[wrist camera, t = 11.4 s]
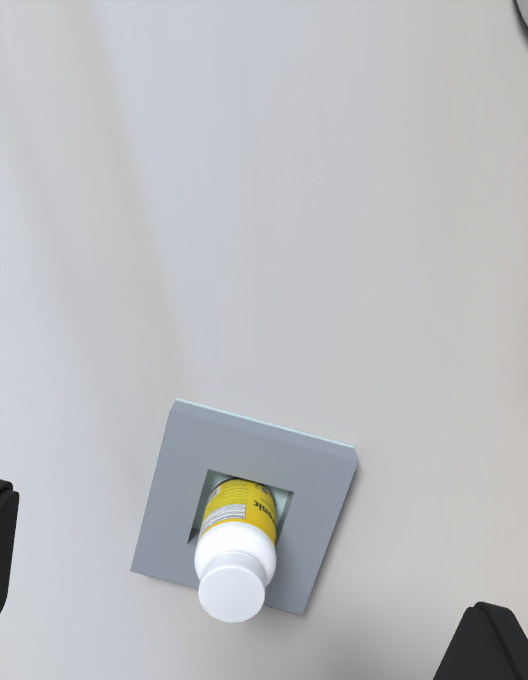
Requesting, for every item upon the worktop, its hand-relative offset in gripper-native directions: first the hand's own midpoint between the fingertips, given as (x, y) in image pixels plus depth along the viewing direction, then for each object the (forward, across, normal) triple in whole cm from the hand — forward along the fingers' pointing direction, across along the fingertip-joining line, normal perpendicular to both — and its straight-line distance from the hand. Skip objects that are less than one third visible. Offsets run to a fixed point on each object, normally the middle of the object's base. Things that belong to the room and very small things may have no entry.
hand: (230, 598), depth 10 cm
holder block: (+25, -1, +15) cm, 29 cm away
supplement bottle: (+25, -1, +15) cm, 29 cm away
